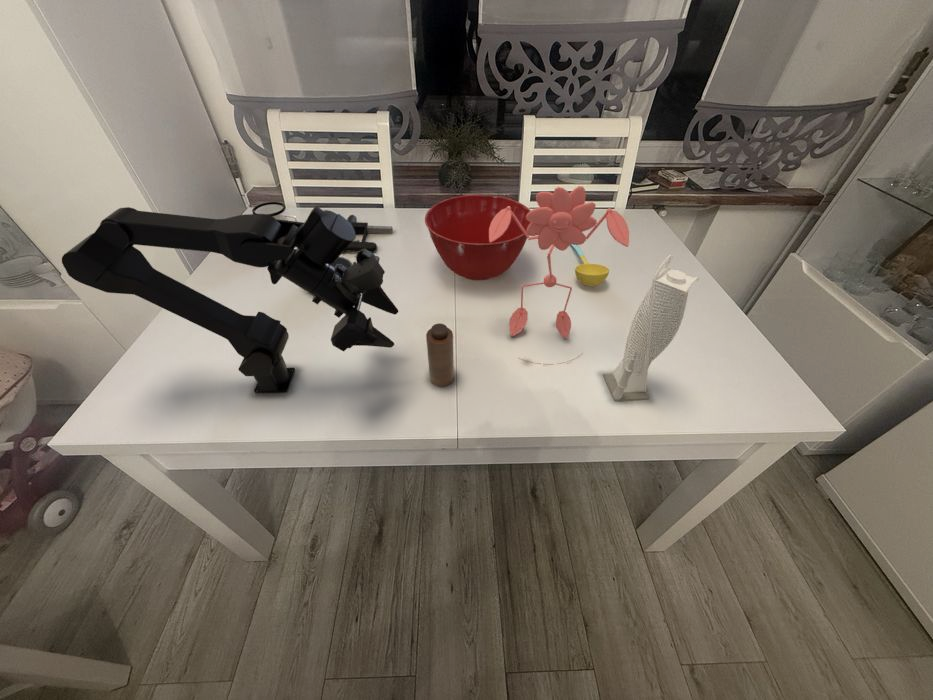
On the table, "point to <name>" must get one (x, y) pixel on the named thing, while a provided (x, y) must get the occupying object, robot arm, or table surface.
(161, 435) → the table surface
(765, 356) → the table surface
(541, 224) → the figurine
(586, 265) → the ladle
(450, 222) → the mixing bowl
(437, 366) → the pepper mill
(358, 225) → the door handle
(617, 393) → the skyscraper
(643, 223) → the table surface
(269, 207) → the mug
